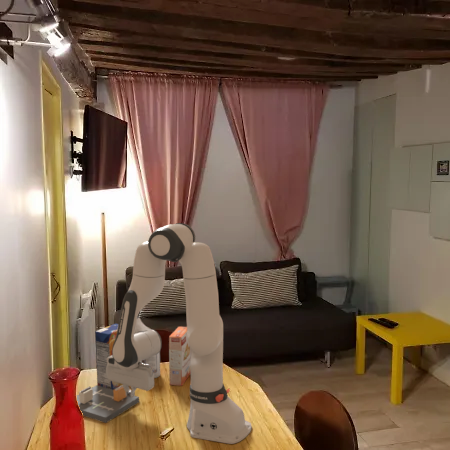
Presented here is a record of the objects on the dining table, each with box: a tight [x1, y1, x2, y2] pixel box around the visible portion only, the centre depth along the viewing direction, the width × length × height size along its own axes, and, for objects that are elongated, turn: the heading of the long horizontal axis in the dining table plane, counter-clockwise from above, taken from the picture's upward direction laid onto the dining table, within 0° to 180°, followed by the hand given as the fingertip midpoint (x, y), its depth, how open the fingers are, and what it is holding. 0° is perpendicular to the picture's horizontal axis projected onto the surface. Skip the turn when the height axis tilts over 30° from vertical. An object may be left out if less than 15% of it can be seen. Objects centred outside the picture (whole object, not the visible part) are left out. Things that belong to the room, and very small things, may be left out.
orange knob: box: [113, 385, 126, 401], centre depth 184 cm, size 2×4×5 cm, turn 150°
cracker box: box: [168, 326, 191, 387], centre depth 206 cm, size 14×6×21 cm, turn 168°
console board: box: [76, 384, 140, 424], centre depth 184 cm, size 22×18×2 cm
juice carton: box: [94, 323, 123, 390], centre depth 200 cm, size 12×8×24 cm, turn 150°
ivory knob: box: [78, 386, 93, 404], centre depth 182 cm, size 2×4×5 cm, turn 150°
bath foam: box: [143, 351, 161, 379], centre depth 210 cm, size 7×7×20 cm
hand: (130, 395), depth 181 cm, fingers closed
